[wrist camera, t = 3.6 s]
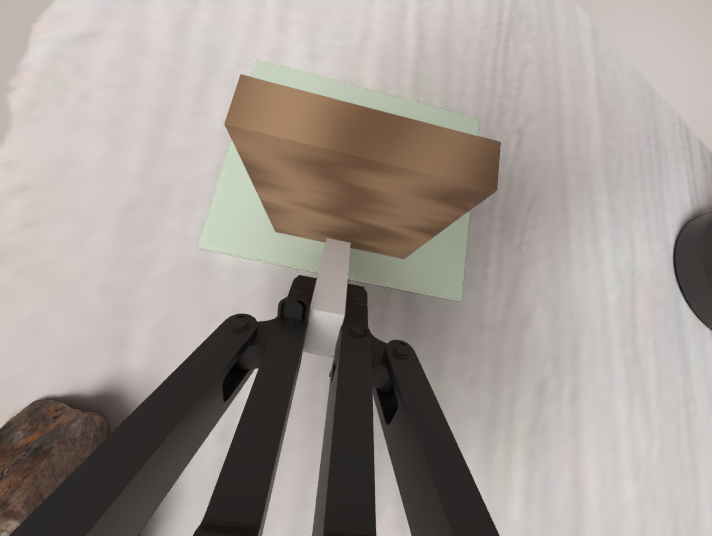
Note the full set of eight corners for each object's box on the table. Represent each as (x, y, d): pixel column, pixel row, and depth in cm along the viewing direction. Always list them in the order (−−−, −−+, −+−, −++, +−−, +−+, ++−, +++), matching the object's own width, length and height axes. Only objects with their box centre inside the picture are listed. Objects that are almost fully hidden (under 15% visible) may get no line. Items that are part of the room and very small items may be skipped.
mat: (475, 124, 31) (479, 118, 30) (457, 301, 27) (461, 300, 26) (258, 66, 29) (256, 59, 28) (200, 249, 25) (197, 247, 24)
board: (407, 234, 27) (500, 142, 13) (403, 259, 26) (496, 190, 13) (281, 206, 26) (240, 74, 12) (275, 232, 25) (224, 123, 11)
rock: (144, 378, 23) (2, 409, 22) (48, 395, 15) (-194, 447, 13) (151, 591, 20) (-18, 648, 18) (30, 765, 12) (-299, 899, 10)
